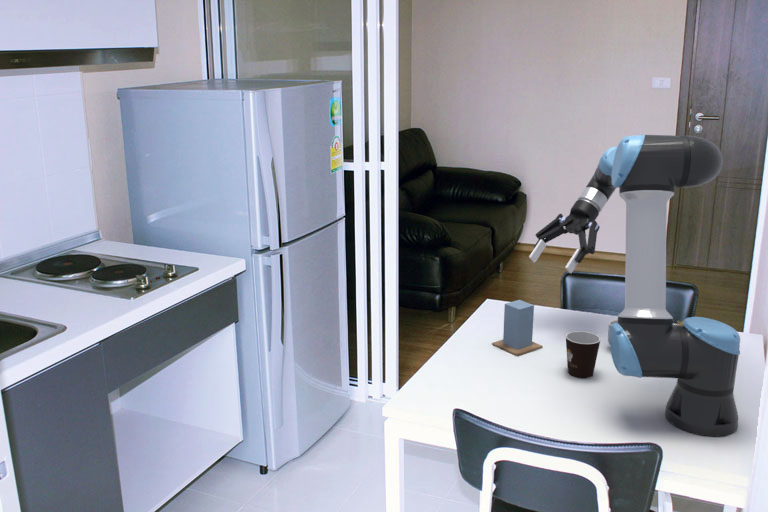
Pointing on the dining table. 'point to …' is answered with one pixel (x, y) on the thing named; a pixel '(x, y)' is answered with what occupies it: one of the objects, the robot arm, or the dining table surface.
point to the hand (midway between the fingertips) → (549, 265)
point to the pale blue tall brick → (518, 324)
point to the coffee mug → (581, 353)
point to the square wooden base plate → (514, 351)
